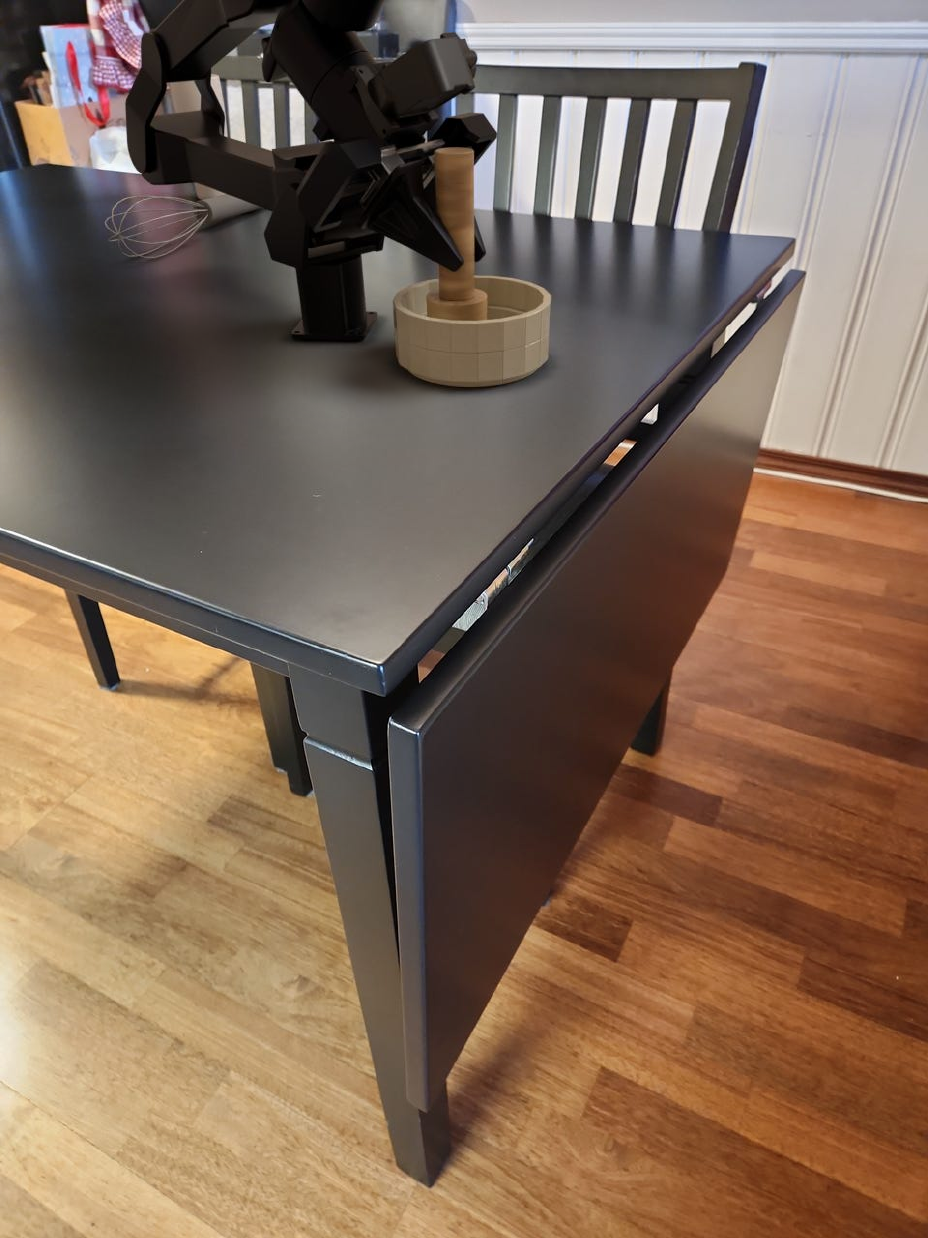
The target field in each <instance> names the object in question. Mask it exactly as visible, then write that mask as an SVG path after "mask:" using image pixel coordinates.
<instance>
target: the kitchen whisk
mask: <svg viewBox="0 0 928 1238" xmlns="http://www.w3.org/2000/svg"><path fill="white" fill-rule="evenodd" d="M133 198H134V199H135V198H144V199H142V200H140V201H137V202H135V203H133V205H131V206H130V207H129V208H128V209H127V210H126V211H125V212H121V213H117V214H114V211H115V209H116V208H117V206H118V204H120V203H122V202H123V201H125V200H129V199H133ZM153 199H162V200H169V201H174V202H179V203H184V204H188V205H192V206H193V208H160V209H159V208H157V209H156V208H155V209H142V210H133V211H131V210H132V209H134V207H135V206H136V205H138V204H140V203H143V202H144V201H150V200H153ZM260 209H263V208H262V207H259V206H256V205H254V204H251V203H248V202H246V201H243V200H241V199H238V198H235V197H233V196H230V195H228V194H224V195H220V196H216V197H212V198H208V199H204V200H200V199H199V200H197V201H196V202H194V201H191V200H187V199H184V198H179V197H173V196H155V195H134V196H129V197H123V198H122V199H121V200H119V201H117V202H116V204H115V205H114V206H113V208H112V209H111V216H109V217H107V218H106V220H105V221H104V225H105V227H106V228H107V230H109V231H110V232H112V233H113V234H114V235H113V236H111V237H109V238H108V240H107V242H110V243H111V242H117V247H118V248H119V250H120V252H121V254H122V255H124V256H125V257H129V258H137V257H141V258H144V259H158V258H160V257H163V256H166V255H168V254H170V253H172V252H173V251H175V250H176V249H178V248H179V247H181V246H182V245H183V244H184V243H186V241H187V240H189V239H190V238H191V237H192V235H194V234H195V232H196V231H198V229H199V228H200V227H201V226H202V225H208V224H211V223H216V222H219V221H222V220H225V219H229V218H233V217H236V216H239V215H243V214H247V213H251V212H254V211H257V210H260ZM159 211H161V212H163V211H182V212H176V213H172V214H167V215H163V216H160V217H156V218H152V219H150V220H146V221H143V222H141V223H137V224H136V225H133V226H131V227H127V228H126V229H123V230H122V231H121V228H122V224H123V221H124V219H125V217H127V214H132V213H142V212H143V213H144V212H159ZM188 213H193V214H194V215H190V216H188V217H185V218H182V219H179V220H176V221H173V222H169V223H167V224H164V225H161V226H158V227H154V228H152V229H151V228H150V229H148V230H145V231H142V232H138V233H135V234H132V235H128V236H123V235H121V234H124V233H125V232H127V231H129V230H132V229H135V228H136V227H139V226H142V225H144V224H147V223H150V222H154V221H158V220H159V219H164V218H168V217H173V216H176V215H182V214H183V215H184V214H188ZM121 215H123V217H122V218H121V220H120V224H119V226H118V227H119V228H117V226H116V224H115V221H114V218H115V217H117V216H121ZM192 218H195V219H196V221H195V222H194V223H192V224H191V225H190V226H188V227H187V228H186V229H184V230H182V232H180V233H179V234H177V235H175V236H174V237H173V238H171V239H168V240H164V241H157V242H152V241H151V242H148V241H147V242H146V241H140V240H135V239H130V238H132V237H136V236H139V235H143V234H146V233H149V232H152V231H155V230H158V229H162V228H164V227H167V226H170V225H175V224H176V223H179V222H180V223H181V222H182V221H185V220H189V219H192ZM110 219H111V221H112V224H113V227H114V230H115V231H114V230H113V229H112V228H109V226H108V224H107V222H108V221H109V220H110ZM192 227H193V228H192ZM189 229H190V230H189ZM186 231H187V232H186ZM191 232H192V233H191ZM188 234H190V235H189V236H188V237H187V238H185V239H184V240H182V241H181V243H180V244H178V245H176V247H174V248H173V249H171V250H169V251H167V252H166V253H162V254H160V255H156V256H144V255H147V254H149V253H152V252H155V251H156V250H158V249H160V248H162V247H164V246H165V245H167V244H169V243H171V242H172V241H175V240H178V239H179V238H182V237H184V236H186V235H188ZM115 237H117V238H116V239H113V238H115ZM124 240H127V241H130V242H135V243H139V244H143V245H148V244H149V245H158V244H161V245H160V246H157V247H156V248H153V249H151V250H149V251H147V252H144V253H141V254H137V252H134V251H133V250H132V249H131V248H130V247H128V246H127V244H126V242H125V241H124ZM120 242H122V244H123V245H124V247H125V248H126V249H128V250H129V251H130V252H132V253H133V255H128V254H126V253H124V252H123V250H122V248H121V246H120V244H121V243H120Z"/></svg>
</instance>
